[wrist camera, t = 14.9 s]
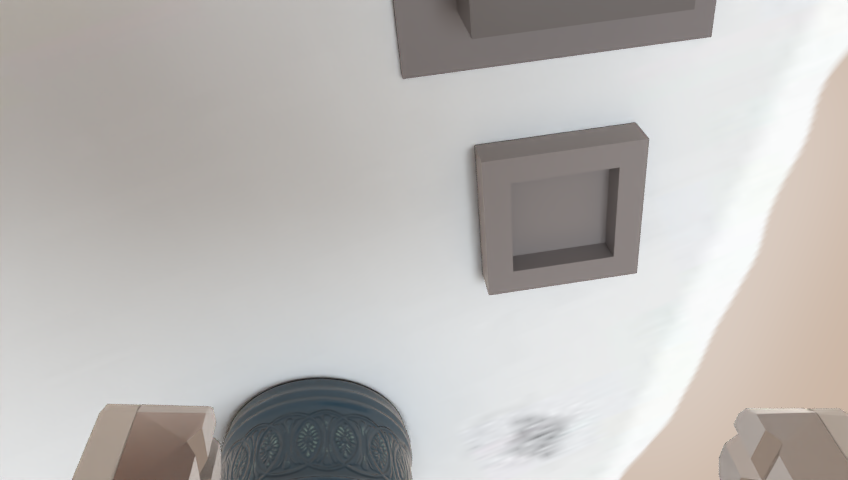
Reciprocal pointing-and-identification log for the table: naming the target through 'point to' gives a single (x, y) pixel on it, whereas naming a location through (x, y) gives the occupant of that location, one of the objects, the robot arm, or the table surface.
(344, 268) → the table surface
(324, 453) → the canister
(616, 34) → the port
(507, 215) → the grey square tray
